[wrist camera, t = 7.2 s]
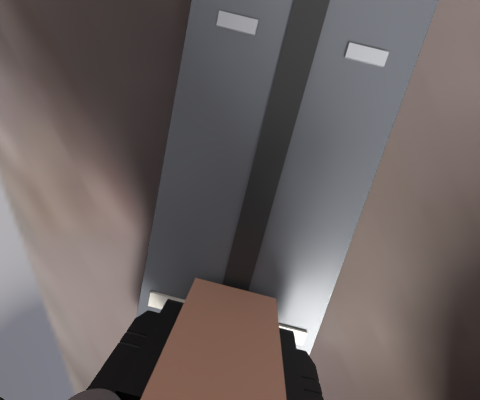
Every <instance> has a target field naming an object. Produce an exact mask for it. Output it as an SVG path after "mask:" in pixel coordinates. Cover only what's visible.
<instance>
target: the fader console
mask: <svg viewBox="0 0 480 400" xmlns="http://www.w3.org/2000/svg"><path fill="white" fill-rule="evenodd" d="M438 1H439V0H192V1H191V7H190V13H189V18H188V24H187V30H186V36H185V41H184V47H183V53H182V59H181V64H180V70H179V76H178V81H177V87H176V93H175V99H174V104H173V110H172V116H171V122H170V127H169V133H168V139H167V144H166V150H165V156H164V162H163V167H162V173H161V179H160V185H159V190H158V196H157V202H156V207H155V213H154V219H153V225H152V230H151V236H150V242H149V248H148V253H147V259H146V265H145V270H144V276H143V282H142V288H141V293H140V299H139V305H138V311H137V316H136V318H137V317H138V316H140V315H141V314H143V313H144V312H146V311H147V310H150V311H154V312H158V313H160V311H161V310H162V308H163V306H164V304H165V302H166V301H167V299H171V300H175V301H179V302H183V303H184V302H185V300H186V298H187V295H188V293H189V291H190V289H191V287H192V284H193V282H194V280H195V278H198V279H202V280H206V281H210V282H214V283H218V284H222V285H226V286H229V287H233V288H237V289H241V290H245V291H249V292H253V293H257V294H261V295H264V296H268V297H272V298H276V303H277V312H278V322H279V328H283V329H287V330H291V331H293V332H294V337H295V342H296V348H297V349H300V350H304V351H306V352H307V353H308V355H310V352H311V349H312V347H313V344H314V341H315V338H316V336H317V333H318V330H319V327H320V325H321V322H322V319H323V316H324V314H325V311H326V308H327V305H328V303H329V300H330V297H331V294H332V292H333V289H334V286H335V283H336V281H337V278H338V275H339V272H340V270H341V267H342V264H343V261H344V259H345V256H346V253H347V251H348V248H349V245H350V242H351V240H352V237H353V234H354V231H355V229H356V226H357V223H358V220H359V218H360V215H361V212H362V209H363V207H364V204H365V201H366V198H367V196H368V193H369V190H370V187H371V185H372V182H373V179H374V176H375V174H376V171H377V168H378V165H379V163H380V160H381V157H382V154H383V152H384V149H385V146H386V143H387V141H388V138H389V135H390V132H391V130H392V127H393V124H394V121H395V119H396V116H397V113H398V111H399V108H400V105H401V102H402V100H403V97H404V94H405V91H406V89H407V86H408V83H409V80H410V78H411V75H412V72H413V69H414V67H415V64H416V61H417V58H418V56H419V53H420V50H421V47H422V45H423V42H424V39H425V36H426V34H427V31H428V28H429V25H430V23H431V20H432V17H433V14H434V12H435V9H436V6H437V3H438Z"/></svg>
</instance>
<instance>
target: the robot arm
mask: <svg viewBox="0 0 480 400" xmlns="http://www.w3.org/2000/svg"><path fill="white" fill-rule="evenodd" d="M183 304H184V303H183V302H179V301H175V300H171V299H167V301H166V302H165V304H164V306H163V308H162V310H161V311H160V313H158V312H154V311H150V310H147V311H146V312H144V313H143V314H141V315H140V316H138V317H137V318H135V320H134V321H133V323H132V324H131V325H130V327H129V328H128V330H127V332H126V333H125V334H124V336H123V337H122V339H121V340H120V343H118V345H117V346H116V348H115V349H114V350H113V352H112V353H111V355H110V356H109V358H108V359H107V361H106V362H105V364H104V365H103V367H102V368H101V370H100V371H99V372H98V374H97V375H96V377H95V378H94V380H93V381H92V383H91V384H90V386H89V387H88V388H87V389H86V391H83V392H80V393H78V394H76V395H74V396H73V397H71V398H70V399H68V400H140V399H141V397H142V395H143V393H144V390H145V388H146V386H147V384H148V382H149V379H150V377H151V375H152V373H153V371H154V368H155V366H156V364H157V362H158V359H159V357H160V355H161V353H162V351H163V348H164V346H165V344H166V342H167V340H168V337H169V335H170V333H171V331H172V329H173V326H174V324H175V322H176V320H177V317H178V315H179V313H180V311H181V309H182V306H183ZM279 332H280V341H281V351H282V361H283V370H284V380H285V389H286V399H287V400H324V399H323V397H322V391H321V387H320V383H319V379H318V374H317V370H316V366H315V364H314V363H313V361H312V359H311V358H310V356H309V355H308V353H307V352H306V351H304V350H300V349H297V348H296V342H295V337H294V332H293V331H291V330H287V329H283V328H279ZM0 400H4V399H3V398H1V397H0Z"/></svg>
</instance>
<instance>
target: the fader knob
mask: <svg viewBox="0 0 480 400" xmlns="http://www.w3.org/2000/svg"><path fill="white" fill-rule="evenodd" d="M140 400H287V399H286V389H285V380H284V370H283V361H282V351H281V341H280V332H279V322H278V312H277V303H276V298H272V297H268V296H264V295H261V294H257V293H253V292H249V291H245V290H241V289H237V288H233V287H229V286H226V285H222V284H218V283H214V282H210V281H206V280H202V279H198V278H195V280H194V282H193V284H192V287H191V289H190V291H189V293H188V295H187V298H186V300H185V302H184V304H183V306H182V309H181V311H180V313H179V315H178V317H177V320H176V322H175V324H174V326H173V329H172V331H171V333H170V335H169V337H168V340H167V342H166V344H165V346H164V348H163V351H162V353H161V355H160V357H159V359H158V362H157V364H156V366H155V368H154V371H153V373H152V375H151V377H150V379H149V382H148V384H147V386H146V388H145V390H144V393H143V395H142V397H141V399H140Z"/></svg>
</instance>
